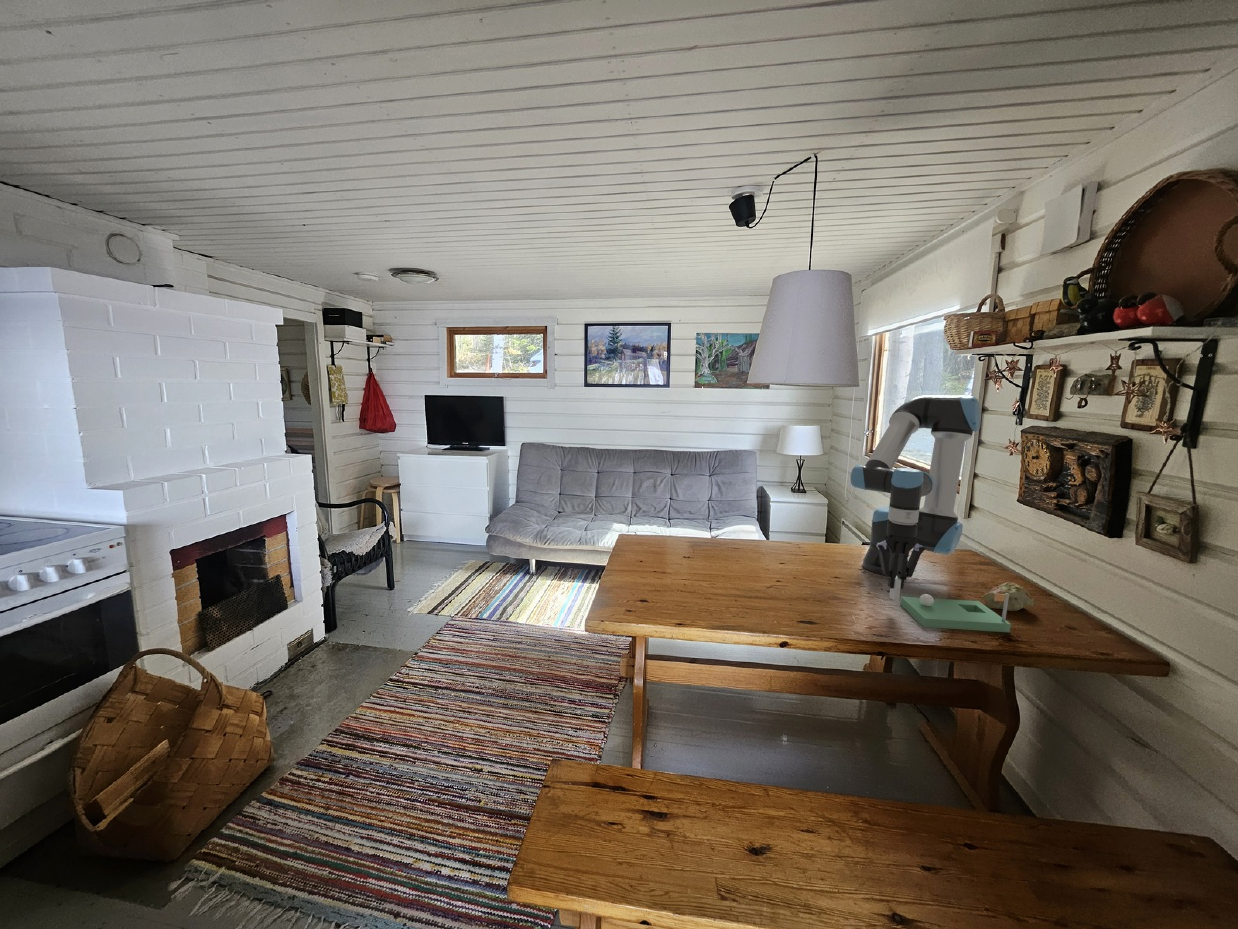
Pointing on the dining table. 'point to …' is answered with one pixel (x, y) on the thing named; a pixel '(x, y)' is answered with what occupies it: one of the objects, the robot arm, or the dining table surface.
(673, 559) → the dining table surface
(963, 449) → the robot arm
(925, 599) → the ball
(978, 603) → the green
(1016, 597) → the rock
